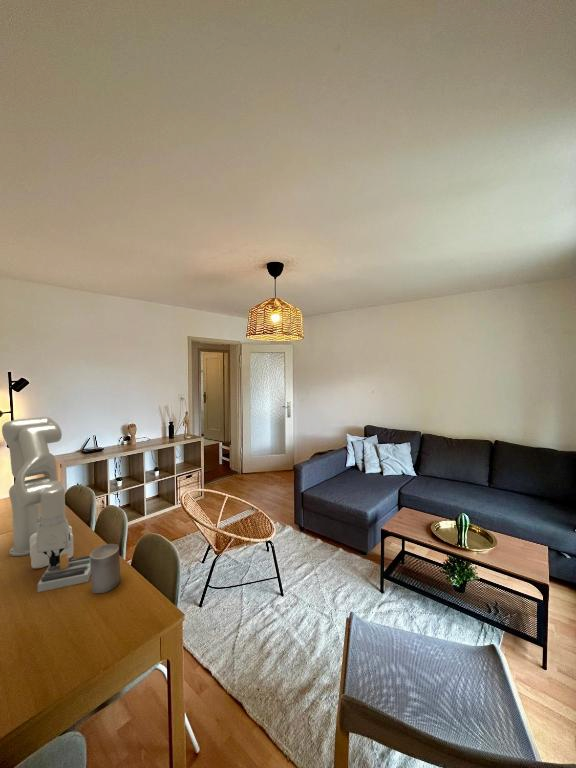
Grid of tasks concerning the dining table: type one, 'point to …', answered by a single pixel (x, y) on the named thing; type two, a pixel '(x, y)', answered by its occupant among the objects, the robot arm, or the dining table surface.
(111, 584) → the pillar candle
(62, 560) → the lever
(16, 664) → the dining table surface
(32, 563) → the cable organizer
